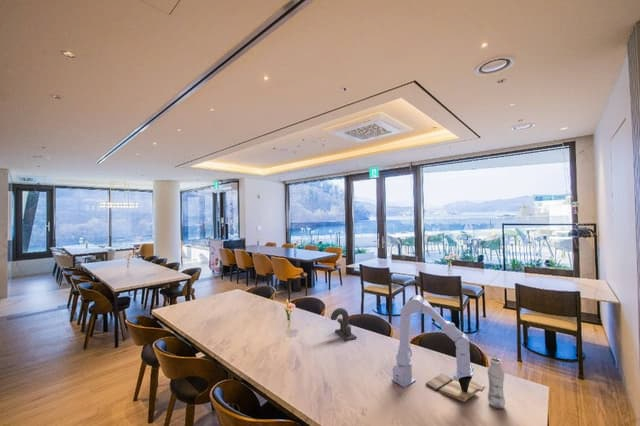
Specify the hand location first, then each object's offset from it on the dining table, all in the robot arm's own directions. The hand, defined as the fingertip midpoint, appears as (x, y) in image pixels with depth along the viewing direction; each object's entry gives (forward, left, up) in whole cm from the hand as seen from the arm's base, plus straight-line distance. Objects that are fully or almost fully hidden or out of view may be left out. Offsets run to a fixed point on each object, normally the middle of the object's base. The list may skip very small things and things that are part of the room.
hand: (464, 390), depth 127 cm
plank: (+12, +4, -3) cm, 13 cm away
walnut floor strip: (0, +13, -3) cm, 13 cm away
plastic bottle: (+5, -11, -3) cm, 13 cm away
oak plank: (0, +3, -2) cm, 3 cm away
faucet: (-5, +85, -3) cm, 85 cm away
